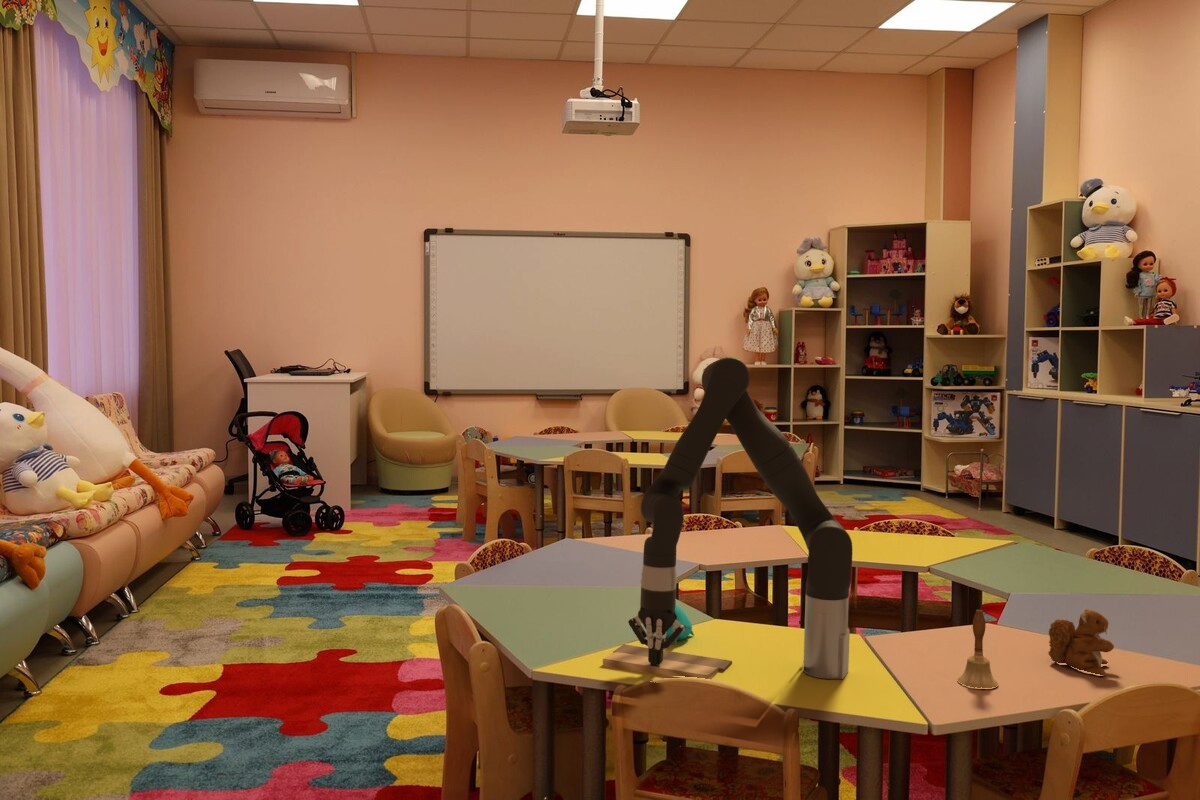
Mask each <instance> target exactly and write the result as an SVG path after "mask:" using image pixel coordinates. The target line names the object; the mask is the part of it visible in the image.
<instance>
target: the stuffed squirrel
mask: <svg viewBox="0 0 1200 800" xmlns="http://www.w3.org/2000/svg"><path fill="white" fill-rule="evenodd" d="M1108 629H1109V621H1108V618H1106V617H1105V616H1104V615H1102V614H1101V613H1099V612H1098V611H1096V610H1090V609H1087V608H1086V609H1085V610H1084V611H1083V612H1082V613H1080V617H1079V619H1078V626H1077V627H1075V624H1074V622H1073V621H1070V620H1068V619H1059V618H1058V619H1055V620H1054V621H1053V622H1051V623H1050V628H1049V630H1048V636H1049V641H1048V643H1049V647H1050V648H1049V651H1048V655H1049V657H1050V659H1051V660H1052V661H1053V662H1054V661H1055V662H1058V663H1066V664H1067V665H1070V666H1072V667H1074V668H1077V669H1079V670H1084V671H1087V672H1091V673H1095V674H1100V675H1104V674H1105V675H1106V672H1105V669H1103V667H1102V668H1101V664H1107V663H1109V661H1107V660H1106V659H1104V658H1103V656H1102V653H1109V652H1112V651H1113V650H1114V648H1115V645H1114V644H1113V643H1112V641H1111V640H1108V639H1105V638H1102V637H1101V634H1106V635H1107V634H1108V633H1107V631H1108ZM1055 662H1054V663H1055ZM1070 666H1069V667H1070ZM1072 667H1071V668H1072ZM1105 675H1104V676H1105Z"/></svg>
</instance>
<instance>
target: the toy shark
mask: <svg viewBox="0 0 1200 800" xmlns="http://www.w3.org/2000/svg"><path fill="white" fill-rule="evenodd" d="M675 613H676V616H677V621H678V622H679V623H680V624H681V625H685V626H686V629H685V630H684V631H683V633H682V634H681V635H680V636H679V637H678V638H677V639H676V640H675V642H674V643H675V644H677V641H682V640H685V639H686V638H688V637H689V636H690V635H692V636H693V637H695V634H694V631H693V625H692V623H691V621H690V618H689V617H688V615H687V614H686V612H685V611H684V610H683V609H682V607H680V605H678V604H677V603H676V602H675ZM673 627H674V626H673V625H672V626H671V628H670V629H669V630H668V631H667V633H666V637H665V640H667V639H668V638H669V637H670V636H671V635H672V634H673V630H672V629H673Z"/></svg>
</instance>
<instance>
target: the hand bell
mask: <svg viewBox="0 0 1200 800" xmlns="http://www.w3.org/2000/svg"><path fill="white" fill-rule="evenodd" d="M983 611H984V610H982V609H976V610H975V614H974V617H973V620H972V632H973V636H974V648H973V649H974V654H973V655H971V656H968V658H967V661H966V664H965V665H966V666H965V669H964V671H963V673H962V674H961V675H960V676H958V678H957V679H958V681H959V682H960V683H962V684H964V685H966V686H970V687H974V688H975V687H977V688H981V687H982V688H992V687H996V686H997V685H998V686H999V682H998V681H997V680H996V679H995V678H994V676H993V674H992V670H991V663H990V662H991V661H990V660H989V658H988V657H985V656H984V648H983V647H984V646H983V641H984V636H985V632H986V618H985V616H984V612H983Z"/></svg>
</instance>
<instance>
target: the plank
mask: <svg viewBox="0 0 1200 800" xmlns="http://www.w3.org/2000/svg"><path fill="white" fill-rule="evenodd" d="M602 666H603V667H608V668H615V669H619V670H620V669H621V670H625V671H626V670H627V671H632V672H633V671H634V672H639V673H645V674H651V675H658V676H664V677H669V678H671V677H670V676H685V677H697V678H705V679H711V680H712V679H714V678H715V677H716V675H717V674H718V673H719V671H718V668H716V667H709V666H703V665H697V664H690V663H684V662H677V661H671V660H665V659H663V661H662V663H661V664H660V665H659V666H651V665H650V663H649V661H648V657H645V656H639V655H633V654H626V653H620V652H614V653H613V652H612V653H611V654H609V655H607V656H605V657H603V658H602Z"/></svg>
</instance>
